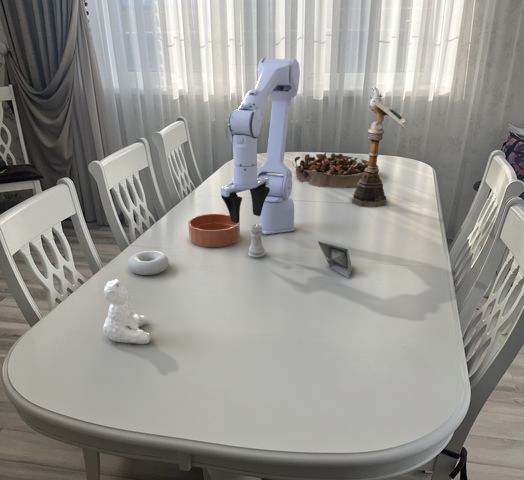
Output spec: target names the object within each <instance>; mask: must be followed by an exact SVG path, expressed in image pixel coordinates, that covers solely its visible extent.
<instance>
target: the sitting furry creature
mask: <svg viewBox="0 0 524 480" xmlns="http://www.w3.org/2000/svg"><path fill="white" fill-rule="evenodd" d="M103 288H104V289H103V295H104V296H105V299H106V300H107V301H108V302H109V303H110V304H109V307H108V313H107V317H106V318H105V319H104V320H105V321H104V324H103V326H102V330H103V334H104V336H106V338H108V339H109V340H110V341H113V342H114V343H123V344H124V343H125V344H137V345H139V344H140V345H147V344H149V343H150V338H151V337H150V336H151V335H150V333H149V332H146V331H144V330H143V329H140V327H143V326H145V325H147V318H146V316H145V315H140V314H134V313H133V311H132V307H131V306H130V304H129V300H130V295H129V293H128V291H127V288H126V287H125V286H122V284H121V282H120V280H118V278H116V279H112V280H108V281H107V282H106V284H105V285H104V286H103Z"/></svg>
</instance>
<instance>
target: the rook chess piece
mask: <svg viewBox="0 0 524 480" xmlns="http://www.w3.org/2000/svg"><path fill="white" fill-rule="evenodd" d="M256 224H258V226H256ZM262 230H263V229H262V228H261V225H260V223H254V224H251V227H250V228H249V231H250V232H251V234H250V236H251V240H250V241H251V242H250V245H249V247H248V250H247V251H248V253H247V255H248V256H249V257H250V258H252V259H262V258H263V257H264V256H265V255H266V253H265V251H266V249H265V248H264V245H263V243H262V235H263V233H262V232H261V231H262Z"/></svg>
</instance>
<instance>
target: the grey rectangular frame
mask: <svg viewBox="0 0 524 480" xmlns="http://www.w3.org/2000/svg"><path fill="white" fill-rule="evenodd" d="M317 243H318V245H319V247H320V249H321V251H322V254H323V255H324V257H325V260H326V261H327V263H328V266H329V268H331V269H333V270H334V271H335V272H338V273H339V274H341V275H342V276H345V277H347V278H348V279H350V277H351V273H352V270H353V265H352V260H351V256H350V251H349V249H348V248H345V247H342V246H337V245H333V244H330V243H326V242H322V241H317Z"/></svg>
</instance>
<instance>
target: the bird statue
mask: <svg viewBox="0 0 524 480" xmlns="http://www.w3.org/2000/svg"><path fill="white" fill-rule="evenodd" d="M371 91H372V93H373V95H372V96H370V97H369V98H370V101H369V104H368V106H369V108H370V110H371V111H372V112H374V114H375V119H376V121H373V122H372V123H371V125H370V128H369V129H368V130H367V132H368V137H367V138H368V140H369V143H370V146H369V153H368V156H369V158H368V161H369V165H368V167H367V168H366V169H365V170H364V171H365V172H364V174H363V176H362V178H361V179H360V180H359V182H358V184H357V187H355V190H354V192H353V194H352V198H351V204H355V205H357V206H359V207H364V208H366V207H367V208H377V207H381V206H386V204H387V195H386V194H385V191H384V190H385V189H384V184H383V180H381V177H380V174H379V173H380V169H379V170H378V168H377V167H376V165H378V164H377V163H378V162H377V161H378V156H379V146H380V145H379V144H380V142H381V140H383V137H384V136H383V135H384V134H385V130H384V128H383V127H384V125H383V121H384V119H385V116H389V117H390V118H391V119H392V120H394V121H395V122H396V123H397V124H398V125H399V127H401V129H405V124H406V122H407V121H406V119H405V118H404V116H403V114H401V113H399V112H398V111H396V110H395V109H394V108H393V107H390V108H389V107H388V106H387V105H386V104H384V103H383V102H382V98H383V95H382V91H379V89H378V88H377V87H375V86H372V87H371Z"/></svg>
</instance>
